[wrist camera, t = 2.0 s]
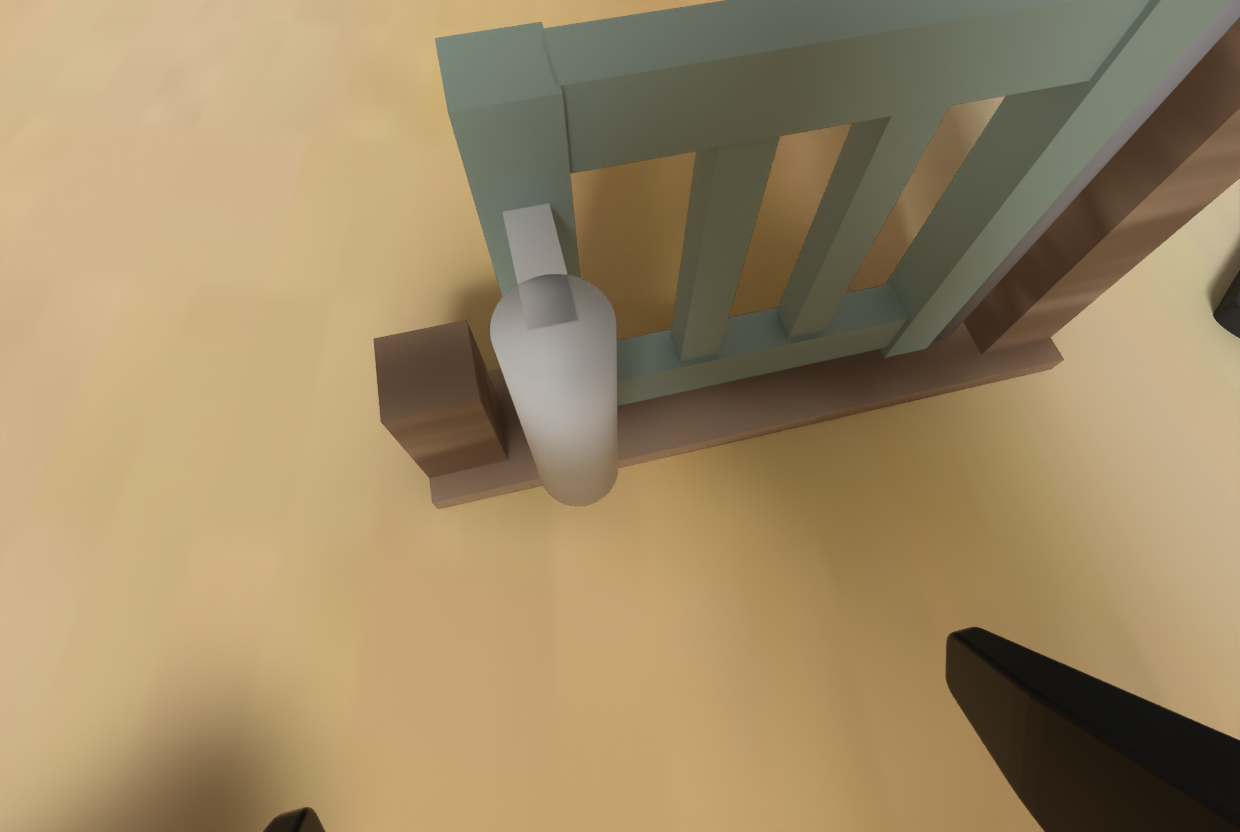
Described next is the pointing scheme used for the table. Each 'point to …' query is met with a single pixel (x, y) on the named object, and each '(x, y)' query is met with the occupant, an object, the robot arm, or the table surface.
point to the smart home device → (1230, 308)
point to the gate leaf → (741, 162)
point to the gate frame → (973, 355)
